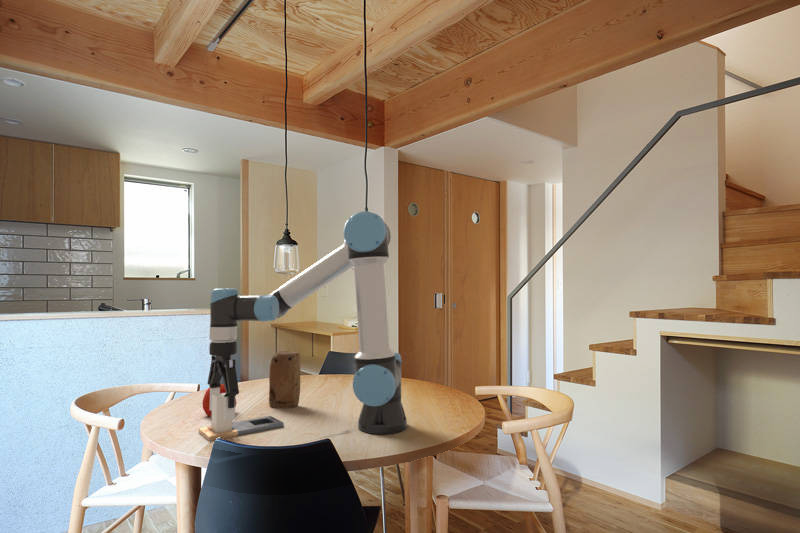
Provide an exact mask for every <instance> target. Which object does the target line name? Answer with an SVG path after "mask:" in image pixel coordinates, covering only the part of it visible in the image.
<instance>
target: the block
mask: <svg viewBox="0 0 800 533" xmlns="http://www.w3.org/2000/svg"><path fill="white" fill-rule="evenodd" d="M268 373H269V379H268V382H269V384H268V385H269V389H268V390H269V391H268V394H269V395H268V404H269V408H281V409H284V408H285V409H288V408H290V409H292V408H296V407H299V403H300V395H301V356H300V352H299V351H290V350H283V351H282V350H281V351H277V352H276V353H275V354H274V355H272V358H271V361H270V365H269V372H268Z"/></svg>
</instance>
